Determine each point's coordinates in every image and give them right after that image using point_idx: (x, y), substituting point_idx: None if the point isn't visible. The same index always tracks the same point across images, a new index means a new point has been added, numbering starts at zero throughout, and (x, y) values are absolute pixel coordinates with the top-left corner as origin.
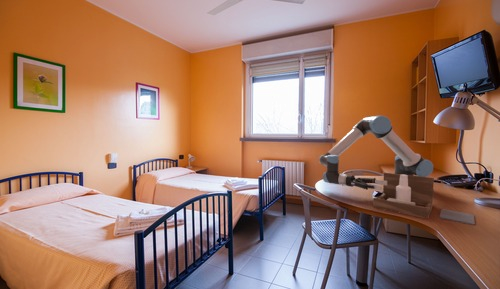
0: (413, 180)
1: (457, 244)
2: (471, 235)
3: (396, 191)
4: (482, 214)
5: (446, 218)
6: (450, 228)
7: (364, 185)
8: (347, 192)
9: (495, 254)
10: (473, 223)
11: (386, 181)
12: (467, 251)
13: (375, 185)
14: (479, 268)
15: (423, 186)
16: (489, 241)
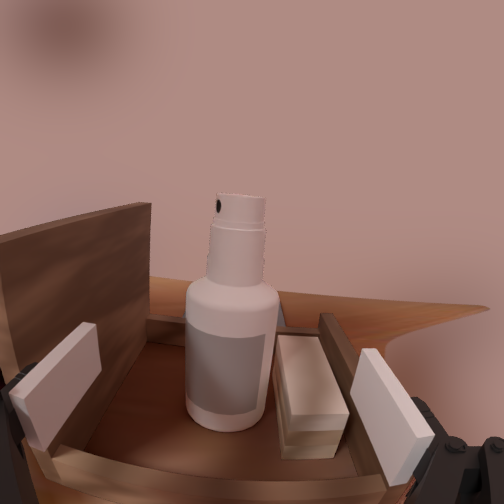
0: (121, 239)
1: (429, 320)
2: (357, 309)
3: (254, 342)
4: (168, 286)
5: (284, 323)
6: (353, 325)
7: (500, 450)
8: None
9: (407, 301)
10: None
11: (94, 330)
12: (439, 314)
13: (395, 384)
14: (470, 309)
15: (137, 258)
16: (359, 300)
